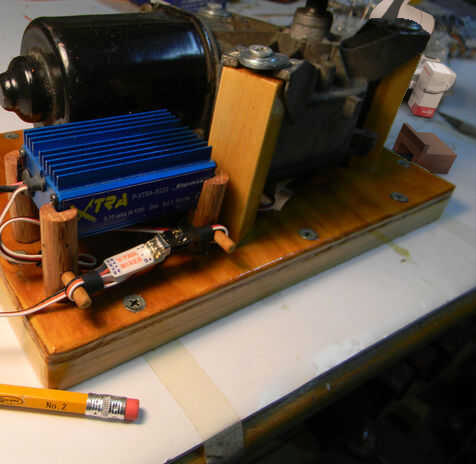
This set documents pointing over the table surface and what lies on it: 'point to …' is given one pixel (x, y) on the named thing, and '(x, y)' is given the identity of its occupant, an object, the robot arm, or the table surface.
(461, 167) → the table surface
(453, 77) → the robot arm
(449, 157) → the dark brown wooden box
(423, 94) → the ink box
